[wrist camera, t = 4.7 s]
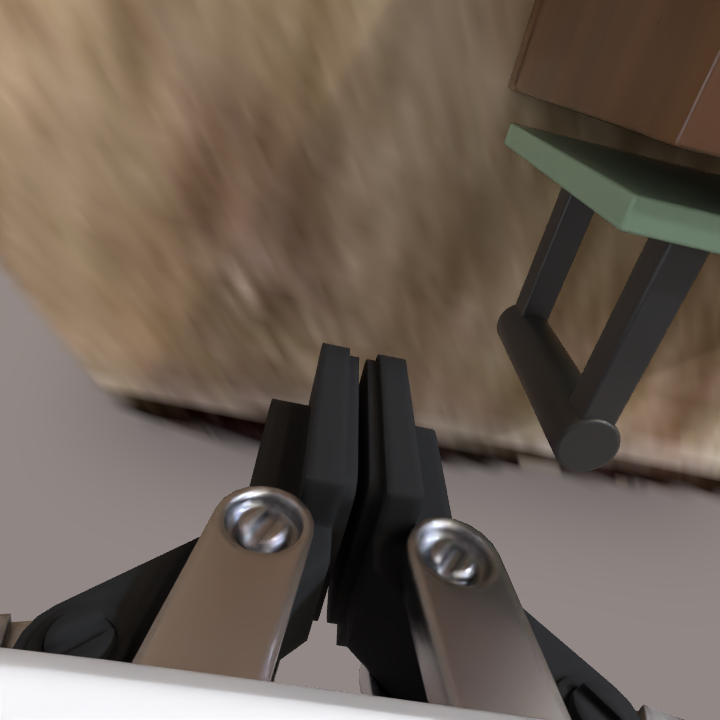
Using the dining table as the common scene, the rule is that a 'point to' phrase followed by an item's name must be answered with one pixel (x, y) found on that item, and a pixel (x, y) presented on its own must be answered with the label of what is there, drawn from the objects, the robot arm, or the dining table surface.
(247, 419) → the dining table surface
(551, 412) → the sliding door
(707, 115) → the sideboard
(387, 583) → the robot arm
